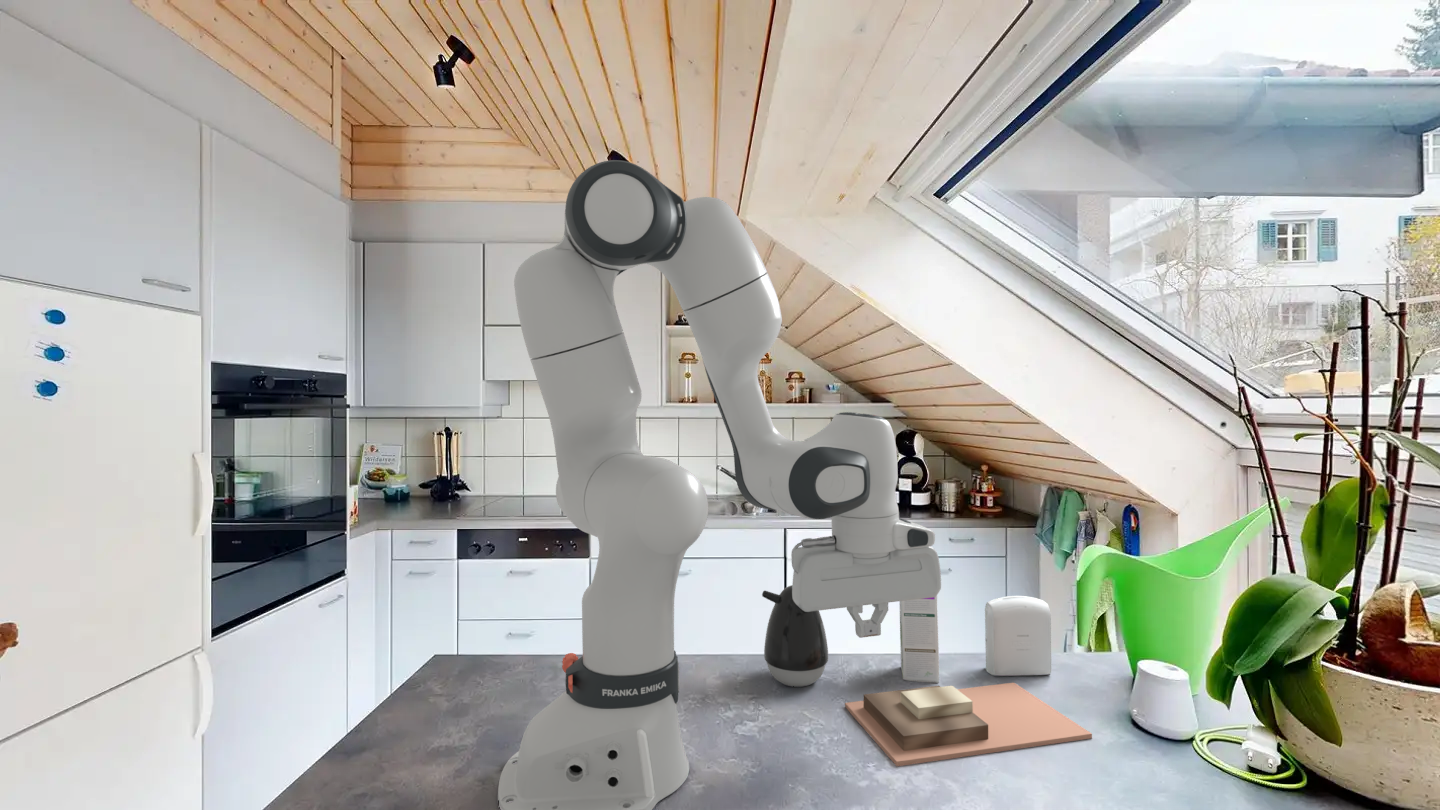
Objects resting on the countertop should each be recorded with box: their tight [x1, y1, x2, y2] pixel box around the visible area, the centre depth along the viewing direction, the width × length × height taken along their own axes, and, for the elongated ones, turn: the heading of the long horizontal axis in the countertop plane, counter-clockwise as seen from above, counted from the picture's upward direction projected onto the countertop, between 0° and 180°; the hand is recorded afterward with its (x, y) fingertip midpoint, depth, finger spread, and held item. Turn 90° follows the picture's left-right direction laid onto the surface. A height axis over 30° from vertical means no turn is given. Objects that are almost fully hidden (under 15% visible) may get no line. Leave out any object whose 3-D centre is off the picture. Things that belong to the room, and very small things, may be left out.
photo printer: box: [984, 595, 1052, 677], centre depth 109 cm, size 10×4×12 cm, turn 89°
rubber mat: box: [844, 682, 1093, 767], centre depth 93 cm, size 28×16×1 cm, turn 102°
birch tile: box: [901, 685, 973, 719], centre depth 92 cm, size 8×5×2 cm, turn 102°
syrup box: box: [899, 595, 940, 683], centre depth 109 cm, size 6×6×14 cm
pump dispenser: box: [761, 585, 829, 688], centre depth 107 cm, size 10×10×15 cm
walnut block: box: [863, 685, 988, 751], centre depth 92 cm, size 12×12×2 cm
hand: (868, 635), depth 90 cm, fingers closed
